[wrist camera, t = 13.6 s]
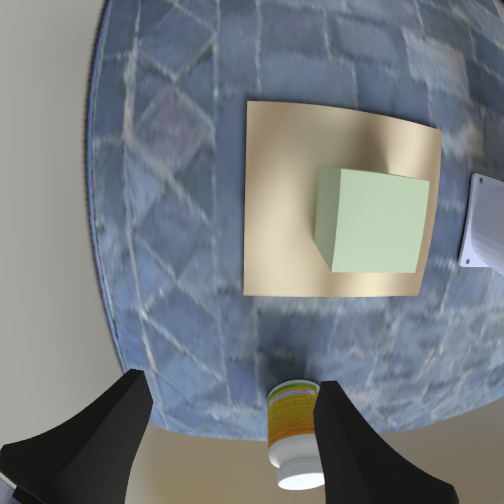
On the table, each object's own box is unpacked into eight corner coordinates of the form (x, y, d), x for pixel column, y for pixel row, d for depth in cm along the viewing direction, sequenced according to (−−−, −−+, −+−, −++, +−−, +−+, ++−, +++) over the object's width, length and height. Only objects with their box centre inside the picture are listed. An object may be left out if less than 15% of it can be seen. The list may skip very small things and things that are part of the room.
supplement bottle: (255, 394, 24) (252, 483, 14) (302, 368, 22) (316, 463, 13) (288, 417, 25) (294, 496, 16) (332, 395, 24) (351, 477, 14)
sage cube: (389, 173, 16) (429, 181, 11) (381, 244, 18) (414, 272, 13) (318, 165, 16) (341, 169, 12) (313, 241, 18) (331, 272, 13)
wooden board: (437, 130, 15) (441, 130, 15) (414, 291, 20) (418, 295, 19) (247, 102, 16) (247, 101, 15) (243, 291, 20) (243, 295, 19)
